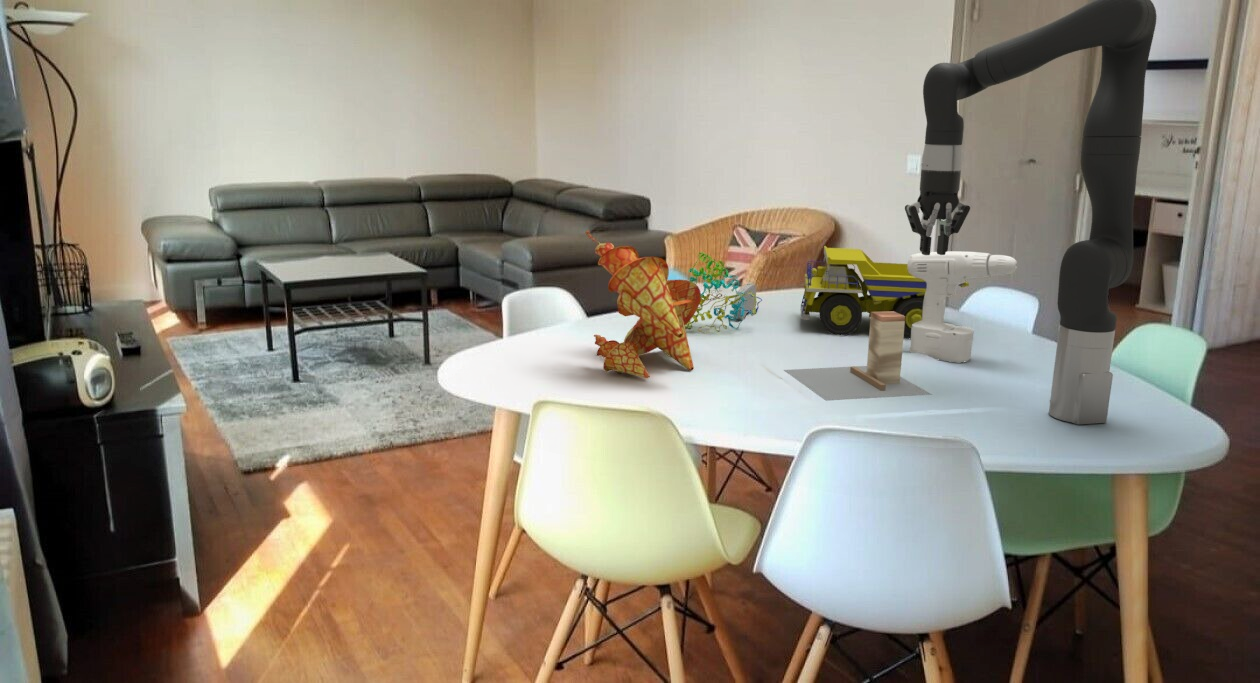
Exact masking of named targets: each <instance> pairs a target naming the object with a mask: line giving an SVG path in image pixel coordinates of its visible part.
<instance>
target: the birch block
mask: <svg viewBox="0 0 1260 683" xmlns="http://www.w3.org/2000/svg"><path fill="white" fill-rule="evenodd" d="M869 320H870V321H869V334H868V349H867V360H866V362H867V363H866V366H867V374H869V375H870V376H872V377H874V378H875V379H877V380H879V381H880V382H882V383H884V384H887V383H900V377H901V370H902V359H903V347H904V346H903V345H904V337H905V336H904V325H905V316H903V315H901V314H899V313H896V312H894V311H884V312H871V317H870V318H869Z"/></svg>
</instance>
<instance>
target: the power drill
mask: <svg viewBox="0 0 1260 683" xmlns="http://www.w3.org/2000/svg"><path fill="white" fill-rule="evenodd" d="M907 264H908V265H907V267H908V268H907V269H908V272H909V273H910V274H911V275H912V276H913V277H915V278H919V279H923V280H925V281H926V283H927V288H926V292H925V296H924V301H923V304H924V305H923V313H922V321H918V322H916V323H914V324H912V327H911V339H910V348H909V349H910V350H909V353H910V354H914V353H917V354H922V355H923V354H924V355H927V356H928V357H931V358H932V359H935V360H936V359H939V360H938V361H941V360H945V361H944V362H947V361H951V362H950V363H953V362H963V363H965V362H964V361H967V362H969V361H970V360H971V357H972V348H973V341H974V336H975V334H974V333H975V329H973V328H971V327H966V326H963V325H962V326H958V325H955V324H953V323H948V322H947V323H946V322H944V320H945V312H946V298H948V297H951V296H955V295H957V287H958V285H959V284H962V283H964V282H967V281H968V280H975V279H985V278H990V277H994V276H995V277H997V276H1007V275H1008V276H1009V275H1010V274H1013V273H1015V272H1016V270H1018V261H1017V259H1015V258H1014V257H1013V256H1009V255H1004V254H991V253H988V252H978V251H963V250H962V251H960V250H959V251H957V250H956V251H955V250H952V251H950V250H949V251H948V250H947V252H946V253H945V255H939V254H937V251H930V255H923V254H922V252H919V253H918V252H917V253H913V254H911V255H910V256H909V258H908V261H907ZM969 359H970V360H969ZM968 360H969V361H968Z"/></svg>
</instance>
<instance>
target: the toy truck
mask: <svg viewBox="0 0 1260 683" xmlns="http://www.w3.org/2000/svg"><path fill="white" fill-rule="evenodd" d="M823 255H824V256H823V257H822V261H821V260H819V261H815V260H808V261H807V262H806V263H807V266H806V267H807V268H806V273H804V280H803V281H804V284H803V289H804V293H803V297H802V299H801V300H802V301H801V304H800V318H801V320H807V321H810V317H811V313H819V321H820V323H821V326H822V327H823V328H824V330H825V331H827V333H830V334H832V335H835V336H847V335H849V334H853V332H855V331H856V330H857V329H858V328H859V326H860V325H861V323H862V319H863V313H868V317H869V318H871V312H884V311H894V312H896V313H899V314H901V315H903V316H905V325H904V337H905V338H906V339H909V338H911V327H912V324H914V323H916V322H918V321H922V313H923V305H924V304H923V301H924V296H925V292H926V288H927V283H926V281H925V280H923V279H919V278H915V277H913V276H912V275H911V274H910V273H909V272H908V269H907V268H908V267H907V265H908V263H896V262H895V263H891V262H877V261H876V262H875V261H873V260H872V259H871V258H870V257H869V256H868V255H867V254H866V253H865V252H864V251H863V250H862V249H859V248H844V247H843V248H842V247H841V248H839V247H827V246H826V245H824V246H823ZM809 262H810V263H809ZM811 262H813V267H812V264H811ZM816 263H821V266H820V265H819V266H817V267H815V264H816ZM824 263H826V265H827V266H824V265H823V264H824ZM848 265H851V266H853V267H854V268H849V266H848ZM855 265H856V266H855ZM856 267H857V268H858V270H859V273H860V275H861V277H860V276H859V274H858V273H857V272H856ZM862 279H863V280H862ZM958 286H959V287H960V288H965V287H969V286H970V284H969V283H968V282H967V281H966V282H964V283H962V284H959V285H958ZM958 286H957V287H958ZM816 293H817V297H815V296H816ZM859 294H862V296H859Z"/></svg>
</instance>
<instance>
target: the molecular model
mask: <svg viewBox="0 0 1260 683" xmlns="http://www.w3.org/2000/svg"><path fill="white" fill-rule="evenodd" d="M702 257H703V259H702ZM706 259H707V260H706ZM699 260H700V261H702V262H704V263H705V264H706V266H705V269H706V271H708V272H706V271H705V270H704V267H703V266H702V267H700V268H699V271H698V270H697V269H696V268H694V267H695V266H696V265H697V264H698V261H699ZM713 263H714V264H715V266H714V267H713V268H711V266H712V265H713ZM721 265H722V266H721ZM724 267H725V264H724V262H723V261H722V260H719V261H715V260H713V259H712V256H710V255H708V254H706V253H704V252H698V254H697V260H696V262H695V264H694V265H693V267H692V268H690V269H688V272H689V273H692V275H693V276H690V277H689V281H691V282H693V283H694V282H695V284H696V285H697V283H698V278H699V277H700V276H701V279H702V280H704V282H702V283H703V284H702V286H703V292H702V293H701V299H700V303H699V305H700V306H698V308H697V310H696V313H697V314H696V315H695V314H694V315H693V317H692V318H693V321H691V320H692V318H691V319H690V321H689V322H688V323H687V324H686V325H685V330H686V329H687V328H688V329H689V330H691V329H692V328H693V324H692V323H699V320H698V319H699V318H698V317H699V316H700V319H701V321H705V320H706V318H705V317H707V319H708V320H712V318H713V316H712V314H711V309H713V315H714V316H716V318H714V320H713V322H712V324H711V325H705V326H699V327H698V328H697V331H699V332H700V333H702V334H707V333H709V332H710V331H711V329H712V328H714V330H716V332H720V331H721V327H722V328H724V329H725V330H726V329H727V328H728V327H727V325H725V324H724V321H723V318H724V319H727V318H728V326H729V327H730V328H733V329H735V330H736V329H737V330H738V329H739V328H740V325H741V323H742V321H743V320H740V321H739V323H738V326H737V327H735V326H734V325H733V324H732V322H731V321H737V320H736V319H737V313H738V310H739V307H740V306H741V304H742V301H743V308H742V307H740V308H742V312H741V315H740V316H741V317H743V315H744V311H748V313H749V314H750V316H752V317H753V316H755V315H757V313H758V310H759V304H760V303H761V302H762V301H763V299H762V298H760V297H759V296H757V295H756V296H755V295H754V294H752V293H751V294H749V293H746V294H744V293H740V294H739V293H737V291H738V290H737V289H738V288H739V286H740V281H739V278H738V276H737V275H734V274H732V275H729V271H728V269H727V268H724ZM716 271H718V272H716ZM710 272H711V273H710ZM723 272H725V273H723ZM721 275H722V276H723V279H722V278H721ZM718 277H719V279H717V278H718ZM735 277H736V278H735ZM727 278H729V279H731V280H730V281H731V282H728V283H725V279H727ZM732 278H733V279H732ZM708 283H709V284H710V285H709V284H708ZM713 287H714V288H713ZM721 287H722V288H723V289H726V290H727V289H729V288H731V287H732V289H731V292H734V290H735V294H734V295H726V294H724V295H723V294H722V293H721ZM711 289H713V290H711ZM714 291H715V292H714ZM714 293H716V294H715V295H713V294H714ZM736 293H737V294H738V295H736ZM705 294H706V295H705ZM748 294H749V295H751V296H752V297H754V299H755V298H756V299H755V307H754V308H753V310H752V312H751V311H749V310H744V301H747V299H745V300H744V298H743V297H744V296H745V295H748ZM737 296H741V297H739V298H738V299H736V300H730V299H733V298H734V299H735V297H737ZM717 299H718V301H715V300H717ZM740 299H741V300H742V301H741V302H740V303H739V301H740ZM757 299H759V300H760V301H758V300H757ZM738 300H739V301H738ZM707 301H708V302H707ZM712 301H715V302H713V303H712V306H711V307H710V309H708V310H707V311H704V312H703V313H700V311H702V310H703V306H706V305H708V304H710V302H712ZM722 301H724V303H722V304H720V305H715V304H716V303H720V302H722ZM737 301H738V304H737V305H736V304H735V303H736V302H737ZM705 302H707V303H705ZM728 302H729V303H728ZM730 305H731V308H732V309H731V310H729V314H726V309H727V307H728V306H730ZM734 308H735V311H734ZM704 314H705V315H706V316H704ZM734 314H735V315H736V318H734V316H735V315H734ZM716 320H719V321H720V322H721V324H720V325H719V326H718V329H717V328H716V326H715V325H714V324H715V321H716ZM706 327H708V328H709V330H708V331H702V330H700V328H706Z"/></svg>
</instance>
